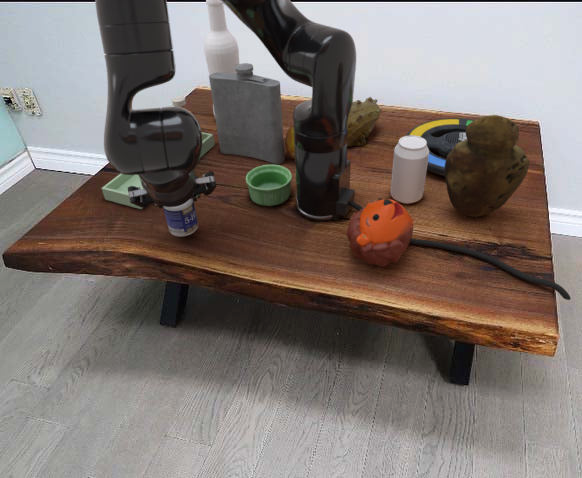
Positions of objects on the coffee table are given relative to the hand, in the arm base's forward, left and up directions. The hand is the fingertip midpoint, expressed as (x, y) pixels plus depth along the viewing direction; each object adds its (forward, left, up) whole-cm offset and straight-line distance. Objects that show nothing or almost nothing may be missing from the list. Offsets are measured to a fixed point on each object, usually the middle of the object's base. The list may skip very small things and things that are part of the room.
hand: (177, 199), depth 89 cm
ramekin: (-10, -16, -7) cm, 20 cm away
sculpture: (-48, -24, -7) cm, 54 cm away
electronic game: (-41, -44, -7) cm, 60 cm away
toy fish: (-35, -7, -7) cm, 36 cm away
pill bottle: (-1, +1, -5) cm, 6 cm away
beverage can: (-35, -25, -7) cm, 43 cm away
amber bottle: (+16, -25, -6) cm, 30 cm away
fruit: (-11, -32, -7) cm, 34 cm away
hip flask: (+1, -29, -7) cm, 29 cm away
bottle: (+15, -43, -7) cm, 46 cm away
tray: (+16, -16, -7) cm, 23 cm away
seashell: (-17, -45, -7) cm, 48 cm away
